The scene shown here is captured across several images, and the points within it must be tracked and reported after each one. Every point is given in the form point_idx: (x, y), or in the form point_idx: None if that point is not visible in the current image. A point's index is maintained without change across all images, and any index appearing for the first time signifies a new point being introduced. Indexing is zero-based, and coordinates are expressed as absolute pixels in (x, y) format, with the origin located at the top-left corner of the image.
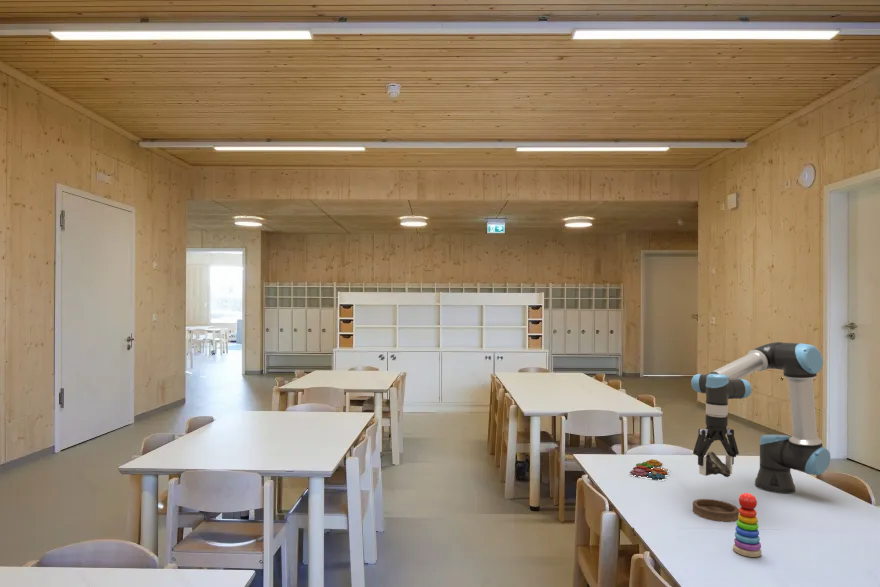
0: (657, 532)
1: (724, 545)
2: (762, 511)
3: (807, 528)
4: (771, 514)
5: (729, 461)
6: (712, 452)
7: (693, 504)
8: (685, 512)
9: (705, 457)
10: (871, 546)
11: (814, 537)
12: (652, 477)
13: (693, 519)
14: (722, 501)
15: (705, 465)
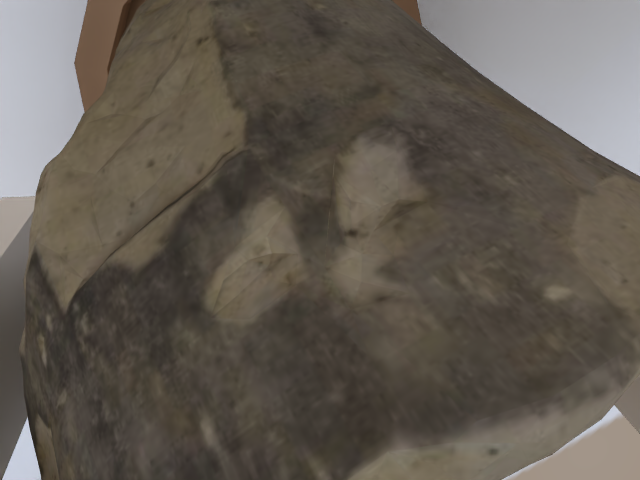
0: None
1: (28, 446)
2: (613, 91)
3: None
4: (607, 145)
5: (636, 392)
6: (546, 428)
7: (85, 16)
8: (15, 6)
9: (71, 433)
10: (584, 433)
11: None
12: None
13: (17, 158)
14: (413, 6)
15: (5, 441)
